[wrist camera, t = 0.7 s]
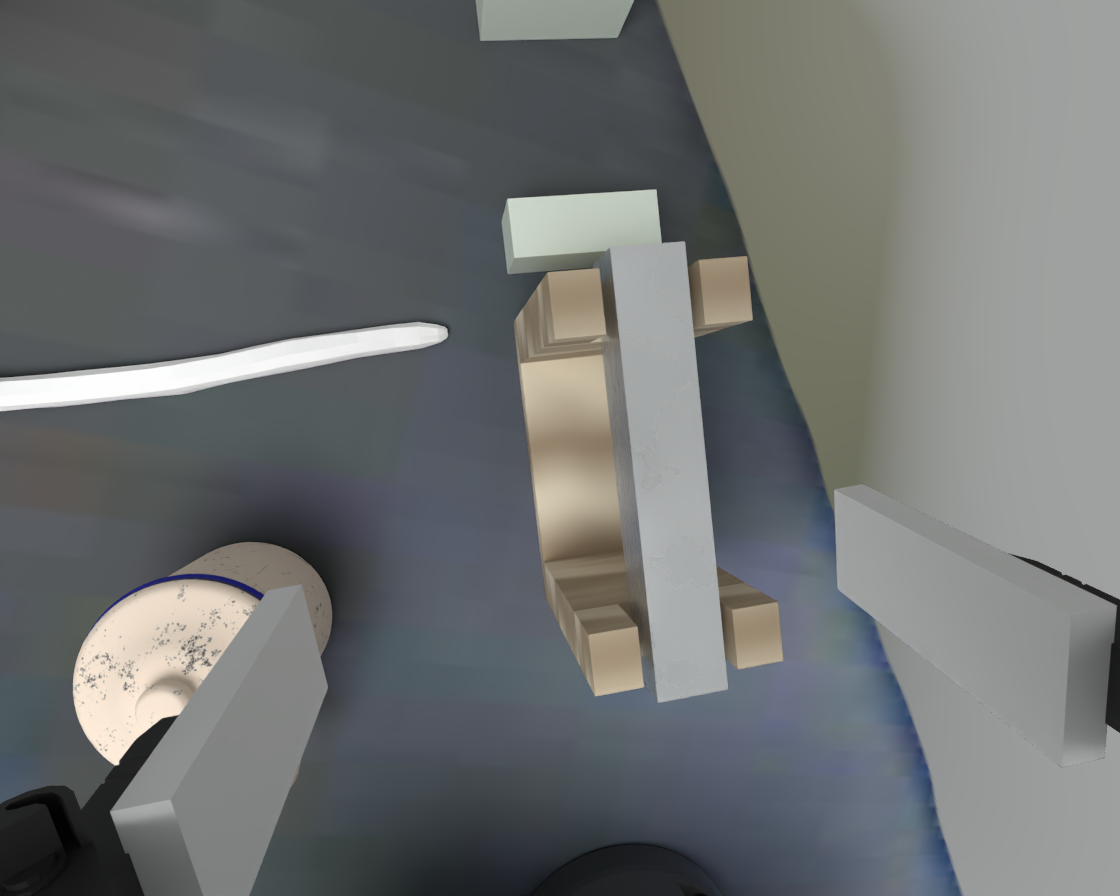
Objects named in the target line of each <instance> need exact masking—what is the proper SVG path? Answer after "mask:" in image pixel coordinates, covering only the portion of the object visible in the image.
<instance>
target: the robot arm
mask: <svg viewBox="0 0 1120 896" xmlns="http://www.w3.org/2000/svg"><path fill="white" fill-rule="evenodd" d="M834 502H835V532H836V560H837V589H838V590H839V591H841V592H842V593H843V594H844V595H846V596H847V597H848V598H849V599H851V600H852V601H853V602H854V603H856V604H857V605H858V606H859V607H861V608H862V609H863V610H864V611H866V612H867V613H868V614H869V615H871V616H872V617H873V618H874V619H876V620H877V621H878V622H880V623H881V624H882V625H883V626H884V627H886V628H887V629H888V630H890V631H891V632H892V633H893V634H895V635H896V636H897V637H898V638H900V639H901V640H902V641H903V642H905V643H906V644H907V645H908V646H910V647H911V648H912V649H913V650H915V651H916V652H917V653H918V654H920V655H921V656H922V657H923V658H925V659H926V660H927V661H928V662H930V663H931V664H932V665H934V666H935V667H936V668H937V669H938V670H940V671H941V672H942V673H943V674H945V675H946V676H947V677H948V678H950V679H951V680H952V681H953V682H955V683H956V684H957V685H958V686H960V687H961V688H962V689H964V690H965V691H966V692H967V693H968V694H970V695H971V696H972V697H973V698H975V699H976V700H977V701H978V702H980V703H981V704H982V705H983V706H985V707H986V708H987V709H988V710H990V711H991V712H992V713H993V714H995V715H996V716H997V717H999V718H1000V719H1001V720H1002V721H1003V722H1005V723H1006V724H1007V725H1008V726H1010V727H1011V728H1012V729H1013V730H1015V731H1016V732H1017V733H1018V734H1020V735H1021V736H1022V737H1024V738H1025V739H1026V740H1027V741H1028V742H1030V743H1031V744H1032V745H1033V746H1035V747H1036V748H1037V749H1038V750H1040V751H1041V752H1042V753H1043V754H1045V755H1046V756H1047V757H1049V758H1050V759H1051V760H1052V761H1054V762H1055V763H1056V764H1057V765H1058V766H1060V767H1061V768H1064V767H1069V766H1073V765H1077V764H1082V763H1086V762H1090V761H1095V760H1099V759H1104V758H1105V746H1106V734H1107V724H1108V725H1109V726H1111V727H1112V728H1113V729H1115V730H1116V731H1118V732H1119V733H1120V600H1119V599H1117V598H1115V597H1113V596H1111V595H1109V594H1107V593H1104V592H1102V591H1100V590H1098V589H1096V588H1094V587H1091V586H1089V585H1087V584H1086V585H1082V583H1081V581H1078V580H1076V579H1074V578H1072V577H1070V576H1068V575H1062V573H1061V572H1059V571H1057V570H1055V569H1053V568H1051V567H1049V566H1046V565H1044V564H1042V563H1040V562H1038V561H1034V560H1031V559H1027V558H1023V557H1019V556H1016V555H1012V554H1008V553H1006V552H1004V551H1001V550H999V549H997V548H995V547H993V546H991V545H989V544H987V543H985V542H983V541H981V540H978V539H976V538H974V537H972V536H970V535H968V534H966V533H964V532H962V531H960V530H957V529H955V528H953V527H951V526H949V525H947V524H945V523H943V522H941V521H939V520H936V519H934V518H932V517H930V516H928V515H926V514H924V513H922V512H920V511H918V510H915V509H913V508H911V507H909V506H907V505H905V504H903V503H901V502H898V501H897V500H895V499H892V498H890V497H888V496H886V495H884V494H882V493H880V492H878V491H876V490H873V489H871V488H869V487H867V486H865V485H862V484H861V485H856V486H850V487H845V488H839V489H834ZM327 689H328V685H327V681H326V677H325V673H324V669H323V666H322V662H321V658H320V654H319V650H318V646H317V642H316V638H315V634H314V630H313V627H312V623H311V619H310V615H309V611H308V607H307V603H306V599H305V595H304V591H303V587H302V584H301V585H295V586H289V587H284V588H278V589H273V590H268V591H267V592H266V594H265V595H264V597H263V598H262V599H261V601H260V602H259V604H258V605H257V606H256V608H255V609H254V611H253V612H252V613H251V615H250V616H249V618H248V619H247V620H246V622H245V623H244V625H243V626H242V627H241V629H240V630H239V632H238V633H237V634H236V636H235V637H234V639H233V640H232V641H231V643H230V644H229V646H228V647H227V648H226V650H225V651H224V653H223V654H222V655H221V657H220V658H219V660H218V661H217V662H216V664H215V665H214V667H213V668H212V669H211V671H210V672H209V674H208V675H207V676H206V678H205V679H204V681H203V682H202V683H201V685H200V686H199V688H198V689H197V690H196V692H195V693H194V695H193V696H192V697H191V699H190V700H189V702H188V703H187V704H186V706H185V707H184V709H183V710H182V711H181V713H180V714H179V715H176V716H171V717H166V718H162V719H161V720H159V721H158V722H157V723H156V724H154V725H153V726H152V727H151V728H149V729H148V730H147V731H146V732H144V733H143V734H142V735H141V736H139V737H138V738H137V739H136V740H135V741H134V742H133V744H132V745H131V746H130V747H129V749H128V750H127V751H126V753H125V754H124V755H123V757H122V758H121V759H120V760H119V765H116V766H115V767H114V768H113V770H112V771H111V772H110V773H109V775H108V776H107V777H106V779H105V783H104V784H101V785H100V786H99V788H98V789H97V790H96V792H95V793H94V794H93V795H92V797H91V798H90V799H89V801H88V802H87V803H86V804H85V806H84V807H83V808H82V810H80V807H79V804H78V802H77V799H76V797H75V794H74V791H72V790H71V789H69V788H68V787H66V786H47V787H43V788H39V789H35V790H31V791H28V792H25V793H23V794H21V795H19V796H16V797H14V798H12V799H9V800H7V801H5V802H3V803H1V804H0V896H249V895H250V892H251V890H252V887H253V884H254V882H255V879H256V876H257V874H258V871H259V868H260V866H261V863H262V861H263V858H264V855H265V853H266V850H267V847H268V845H269V842H270V839H271V837H272V834H273V832H274V829H275V826H276V824H277V821H278V818H279V816H280V813H281V810H282V808H283V805H284V803H285V800H286V797H287V795H288V792H289V789H290V787H291V784H292V781H293V779H294V776H295V774H296V771H297V768H298V766H299V763H300V760H301V758H302V755H303V753H304V750H305V747H306V745H307V742H308V739H309V737H310V734H311V731H312V729H313V726H314V724H315V721H316V718H317V716H318V713H319V710H320V708H321V705H322V702H323V700H324V697H325V695H326V692H327ZM531 896H722V895H721V893H720V891H719V890H718V888H717V886H716V885H715V884H714V882H713V881H712V880H711V879H710V877H709V876H708V875H707V874H706V873H705V872H704V871H703V870H702V869H701V868H700V867H698V866H697V865H696V864H694V863H693V862H692V861H690V860H689V859H687V858H685V857H683V856H681V855H679V854H677V853H675V852H672V851H669V850H667V849H663V848H659V847H654V846H648V845H621V846H614V847H609V848H605V849H601V850H598V851H595V852H592V853H589V854H587V855H584V856H582V857H580V858H578V859H576V860H574V861H572V862H570V863H569V864H567V865H565V866H564V867H562V868H561V869H560V870H558V871H557V872H555V873H554V874H553V875H552V876H550V877H549V878H548V879H547V880H546V881H545V882H544V883H543V884H542V885H541V886H540V887H539V888H538V889H537V890H536V891H535V892H534V893H533V894H532V895H531Z"/></svg>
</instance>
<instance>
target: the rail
mask: <svg viewBox="0 0 1120 896" xmlns="http://www.w3.org/2000/svg"><path fill="white" fill-rule="evenodd" d="M595 268H599V270H600V280H601V289H602V298H603V308H604V317H605V326H606V335H604V336H602V337H601V346H602V355H603V365H604V374H605V383H606V393H607V402H608V411H609V421H610V430H611V439H612V449H613V458H614V467H615V477H616V486H617V495H618V505H619V514H620V523H621V532H622V542H623V551H624V560H625V570H626V579H627V588H628V598H629V607H630V616H631V619H632V621H633V622H634V623H635V624H636V625H637V627H638V636H639V645H640V655H641V664H642V673H643V683H644V684H645V686H646V687H647V688H648V690H649V691H650V693H651V694H652V695H653V697H654V698H655V700H656V701H657V703H661V702H666V701H671V700H676V699H681V698H686V697H691V696H696V695H702V694H707V693H712V692H717V691H722V690H727V689H728V683H727V672H726V662H725V652H724V641H723V631H722V620H721V610H720V600H719V589H718V579H717V569H716V558H715V548H714V538H713V527H712V517H711V506H710V496H709V486H708V475H707V465H706V455H705V444H704V434H703V424H702V413H701V403H700V392H699V382H698V372H697V361H696V351H695V341H694V330H693V320H692V309H691V299H690V289H689V278H688V268H687V258H686V247H685V241H684V242H670V243H657V244H644V245H631V246H618V247H610V248H609V249H608V250H607V251H606V252H605V253H604V254H603V255H602V256H601V257H600V258H599V259H598V260H597V261H596V262H595V263H594V264H593V269H595Z"/></svg>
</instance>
